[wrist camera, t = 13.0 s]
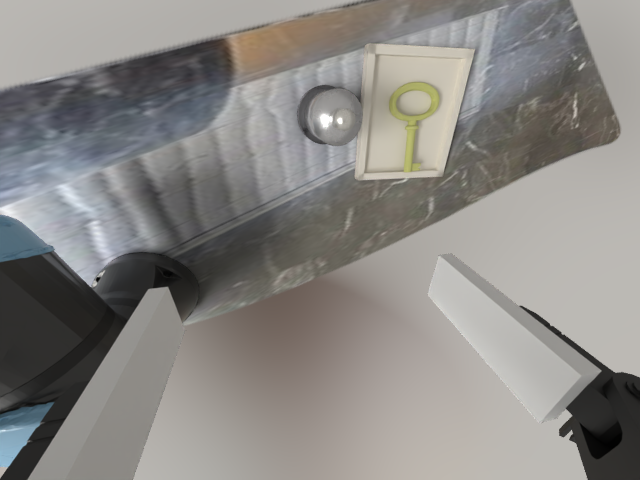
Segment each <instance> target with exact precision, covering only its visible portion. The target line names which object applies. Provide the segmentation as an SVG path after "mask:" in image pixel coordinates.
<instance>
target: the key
mask: <svg viewBox="0 0 640 480" xmlns="http://www.w3.org/2000/svg"><path fill="white" fill-rule="evenodd" d="M415 90H416V91H423V92H426V93H427V94H429V95H430V97H431V106H430V108H429V110H428V111H427V112H425V113H423V114H420V115H414V116H409V115H404V114H402V113H400V112H399V111H398V110H397V107H396V101H397V98H398V97H399V96H400V95H402V94H404V93H406V92H409V91H415ZM439 99H440V97H439V94H438V92H437V90H436V89H435V88H433V87H432V86H430V85H429V84H426V83H423V82H411V83H407V84H404V85H403V86H401V87H399V88H398V89H397V90H396V91H395V92H394V93H393V95H392V96H391V98H390V101H389V109H390V112H391V114H392V115H393V116H394V117H395V118H397V119H399V120H402V121H408V126H406V127H405V130H407V139H406V150H405V161H404V172H411V171H418V170H420V168H418V167H420V166H421V163H412V161H413V152H414V142H415V133H416V130H417V129H418V128H419V126H418V125H416V123H417V121H419V120H423V119H425V118H427V117H429V116H431V115H432V114H433V113H434V112H435V111H436V110H437V108H438V105H439Z"/></svg>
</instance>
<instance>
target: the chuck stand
mask: <svg viewBox="0 0 640 480" xmlns="http://www.w3.org/2000/svg"><path fill="white" fill-rule="evenodd" d="M297 118H298V123H299V126H300V128H301V130H302V132H303V133H304V134H305V135H306V136H307V137H308V138H309V139H310V140H312V141H314V142H316V143H319V144H329V145H332V146H341V145H345V144H347V143H349V142H350V141H351V140H353V139H354V138H355V136H356V135H357V134H358V132H359V130H360V128H361V125H362V119H363V113H362V107H361V104H360V102H359V100H358V99H357V97H356V96H355V95H354V94H353V93H352V92H350V91H348V90H346V89H341V88H335V87H332V86H328V85H322V86H318V87H315V88H312V89H311V90H309V91H308V92H307V93H306V94H305V95H304V96H303V97H302V99H301V101H300V103H299V106H298V111H297Z"/></svg>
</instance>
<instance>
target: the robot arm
mask: <svg viewBox="0 0 640 480" xmlns="http://www.w3.org/2000/svg"><path fill="white" fill-rule="evenodd" d="M54 250H55V249H54V248H53V246H50V245H47V244H46V243H45V242H44V241H42V240H41V239H40V238H39V237H38V236H37V235H36V234H34V233H33V232H32V231H31V230H30V229H29V228H28V227H26V226H25V225H24V224H23V223H22V222H20V221H18V220H17V219H14V218H12V217H9V216H5V215H0V467H8V468H7V470H6V471H5V473H4V474H3V476H2V477H1V478H0V480H133V477H134V475H135V472H136V469H137V466H138V463H139V461H140V457H141V454H142V452H143V449H144V446H145V443H146V440H147V438H148V435H149V432H150V429H151V427H152V423H153V421H154V418H155V415H156V412H157V409H158V407H159V404H160V401H161V398H162V395H163V392H164V390H165V387H166V384H167V381H168V378H169V375H170V372H171V370H172V367H173V364H174V361H175V358H176V356H177V352H178V350H179V347H180V344H181V341H182V339H183V336H184V333H185V329H184V326H183V324H182V323H183V322H184V321H185V320H186V319H187V318H188V317H189V316H190V315H191V313H192V312H193V310H194V308H195V306H196V303H197V301H198V298H199V286H198V283H197V280H196V279H195V277H194V276H193V274H192V273H191V272H190V271H189V270H188V269H187V268H186V267H185V266H183V265H182V264H180V263H179V262H177V261H175V260H173V259H171V258H168V257H165V256H162V255H158V254H152V253H132V254H127V255H123V256H120V257H118V258H116V259H114V260H112V261H111V262H110V263H108V264H107V265H106V266H105V267H104V268H103V269H102V270H101V271H100V272H99V273H98V275H97V276H96V277H95V279H94V281H93V284H92V287H90V286H89V285H88V284H87V283H86V282H85V281H84V280H83V279H82V278H81V277H80V276H79V275H78V274H76V273H75V272H74V271H73V270H72V269H71V268H70V267H69V266H68V265H67V264H66V263H65V262H64V261H63V260H62V259H61V258H60V257H59V256H58V255H57V254H56V253H55V252H54ZM428 296H429V297H430V298H431V299H432V301H433V302H434V303H435V304H436V305H437V306H438V308H439V309H440V310H441V311H442V312H443V313H444V314H445V316H446V317H447V318H448V319H449V320H450V321H451V322H452V324H453V325H454V326H455V327H456V328H457V329H458V331H459V332H460V333H461V334H462V335H463V336H464V338H465V339H466V340H467V341H468V342H469V343H470V344H471V346H472V347H473V348H474V349H475V350H476V351H477V352H478V354H479V355H480V356H481V357H482V358H483V359H484V361H485V362H486V363H487V364H488V365H489V366H490V367H491V369H492V370H493V371H494V372H495V373H496V374H497V375H498V376H499V378H500V379H501V380H502V381H503V382H504V383H505V385H506V386H507V387H508V388H509V389H510V390H511V392H512V393H513V394H514V395H515V396H516V397H517V398H518V400H519V401H520V402H521V403H522V404H523V405H524V407H525V408H526V409H527V410H528V411H529V412H530V413H531V414H532V416H533V417H534V418H535V419H536V420H537V422H539V423H541V422H545V421H549V420H552V419H556V418H558V417H559V415H560V414H561V413H562V412H563V411H564V410H565V409H567V410H568V411H569V412H570V413H571V414H572V415H573V416H572V417H571V418H570V419H569V420H568V421H567V422H566V423H565V424H564V425H563V426H562V427H561V428H560V429H559V436H562V437H565V436H566V435H567V434H568V433H569V432H570V431H571V430H572V431H573V434H572V435H571V437H570V439H569V440H570V441H573V442H575V443H576V444H577V447H578V450H579V453H580V456H581V460H582V462H583V466H584V469H585V472H586V475H587V478H588V480H640V378H639V377H637V376H634V375H632V374H628V373H623V372H621V373H615V372H613V371H612V370H610V369H609V368H608V367H606V366H605V365H603V364H602V363H601V362H599V361H598V360H597V359H595V358H594V357H593V356H592V355H590V354H589V353H588V352H586V351H585V350H584V349H582V348H581V347H580V346H578V345H577V344H576V343H574V342H573V341H572V340H570V339H569V338H568V337H566V336H565V335H562V334H561V332H560V331H559V330H557V329H556V328H555V327H553V326H550V324H549V323H548V322H547V321H546V320H544V319H543V318H541V317H540V316H539V315H537V314H536V313H534V312H532V311H530V310H528V309H527V308H525V307H523V306H518V305H517V304H516V303H514V302H513V301H512V300H510V299H509V298H508V297H507V296H505V295H504V294H503V293H501V292H500V291H499V290H498V289H496V288H495V287H494V286H493V285H491V284H490V283H489V282H487V281H486V280H485V279H483V278H482V277H481V276H480V275H479V274H477V273H476V272H475V271H473V270H472V269H471V268H470V267H468V266H467V265H466V264H464V263H463V262H462V261H461V260H459V259H458V258H457V257H455V256H454V255H453V254H444V255H439V257H438V260H437V264H436V267H435V271H434V274H433V278H432V281H431V284H430V288H429V291H428Z"/></svg>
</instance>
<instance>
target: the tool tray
mask: <svg viewBox="0 0 640 480" xmlns="http://www.w3.org/2000/svg"><path fill="white" fill-rule="evenodd" d="M474 52H475V49H465V48H447V47H429V46H411V45H392V44H374V43H368V44H367V45H365V48H364V61H363V74H362V87H361V100H360V104H361V107H362V113H363V119H362V125H361V128H360V130H359V132H358V138H357V151H356V164H355V177H354V178H355V179H356V180H374V179H396V178H418V177H440V176H443V173H444V169H445V165H446V161H447V157H448V153H449V149H450V145H451V141H452V137H453V134H454V130H455V126H456V122H457V118H458V114H459V110H460V106H461V102H462V98H463V95H464V91H465V87H466V83H467V79H468V75H469V71H470V67H471V63H472V59H473V56H474ZM411 82H423V83H426V84H429V85H430V86H432V87H433V88H435V89H436V90H437V92H438V94H439V97H440V99H439V105H438V108H437V110H436V111H435V112H434V113H433V114H432V115H431V116H429V117H427V118H425V119H423V120H419V121H417V123H416V125H418V126H419V128H418V129H417V130H416V133H415V142H414V152H413V161H412V163H421V166H420V167H418V168H420V170H418V171H411V172H404V161H405V150H406V139H407V130H405V127H406V126H408V121H402V120H399V119H397V118H395V117H394V116H393V115H392V114H391V112H390V109H389V101H390V98H391V96H392V95H393V93H394V92H395V91H396V90H397V89H398V88H399V87H401V86H403V85H404V84H407V83H411ZM430 106H431V97H430V95H429V94H427V93H426V92H423V91H416V90H415V91H409V92H406V93H404V94H402V95H400V96H399V97H398V98H397V101H396V107H397V110H398V111H399V112H400V113H402V114H404V115H409V116H414V115H420V114H423V113H425V112H427V111H428V110H429V108H430Z"/></svg>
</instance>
